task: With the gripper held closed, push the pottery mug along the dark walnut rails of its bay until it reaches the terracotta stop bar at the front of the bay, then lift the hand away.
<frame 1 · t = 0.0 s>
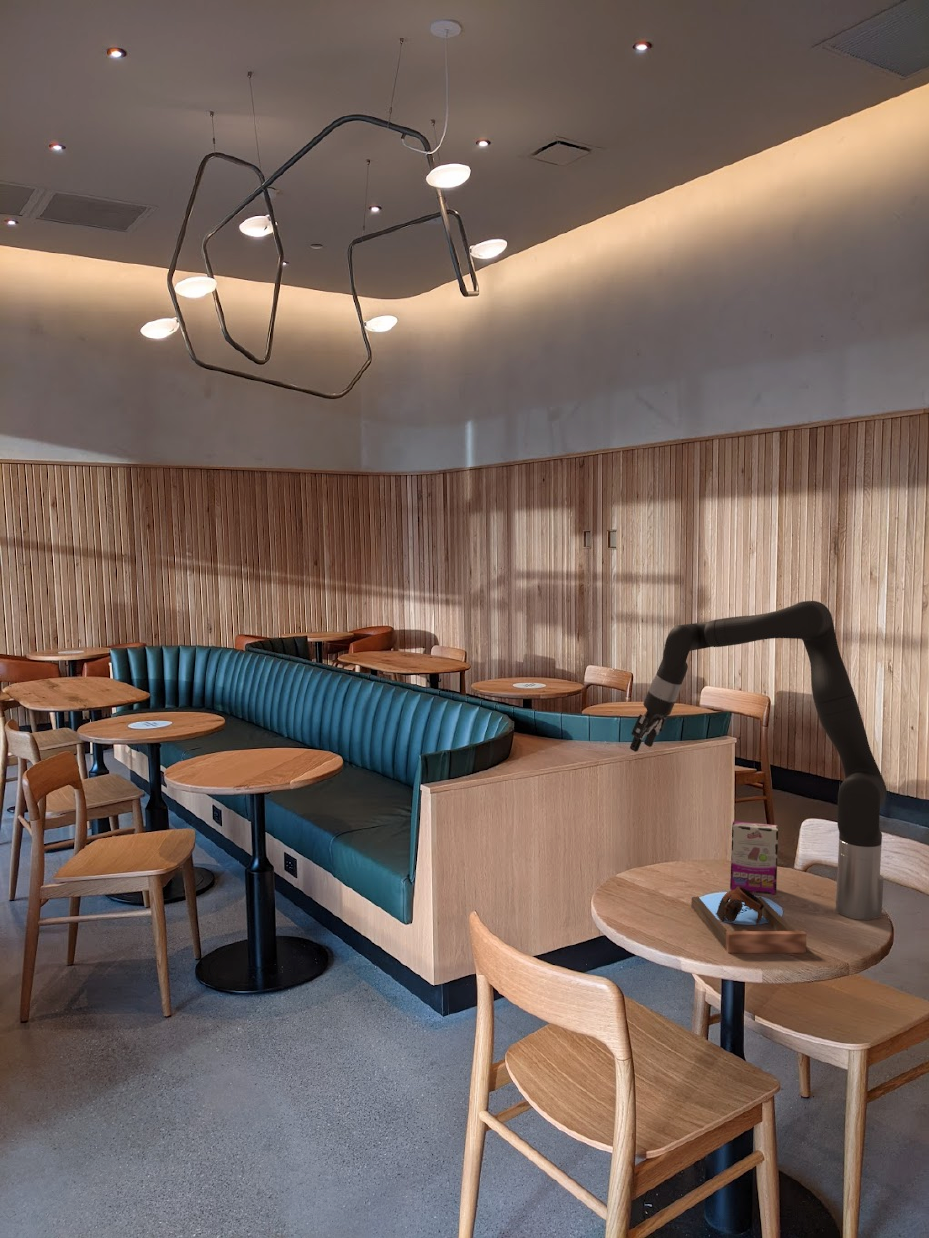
hand: (640, 747, 253), 31 cm above the table, tool tilted 20°, fingers open, 8 cm apart
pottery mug: (737, 921, 216), on the table
bay: (744, 927, 212), on the table
candy bar box: (752, 889, 237), on the table
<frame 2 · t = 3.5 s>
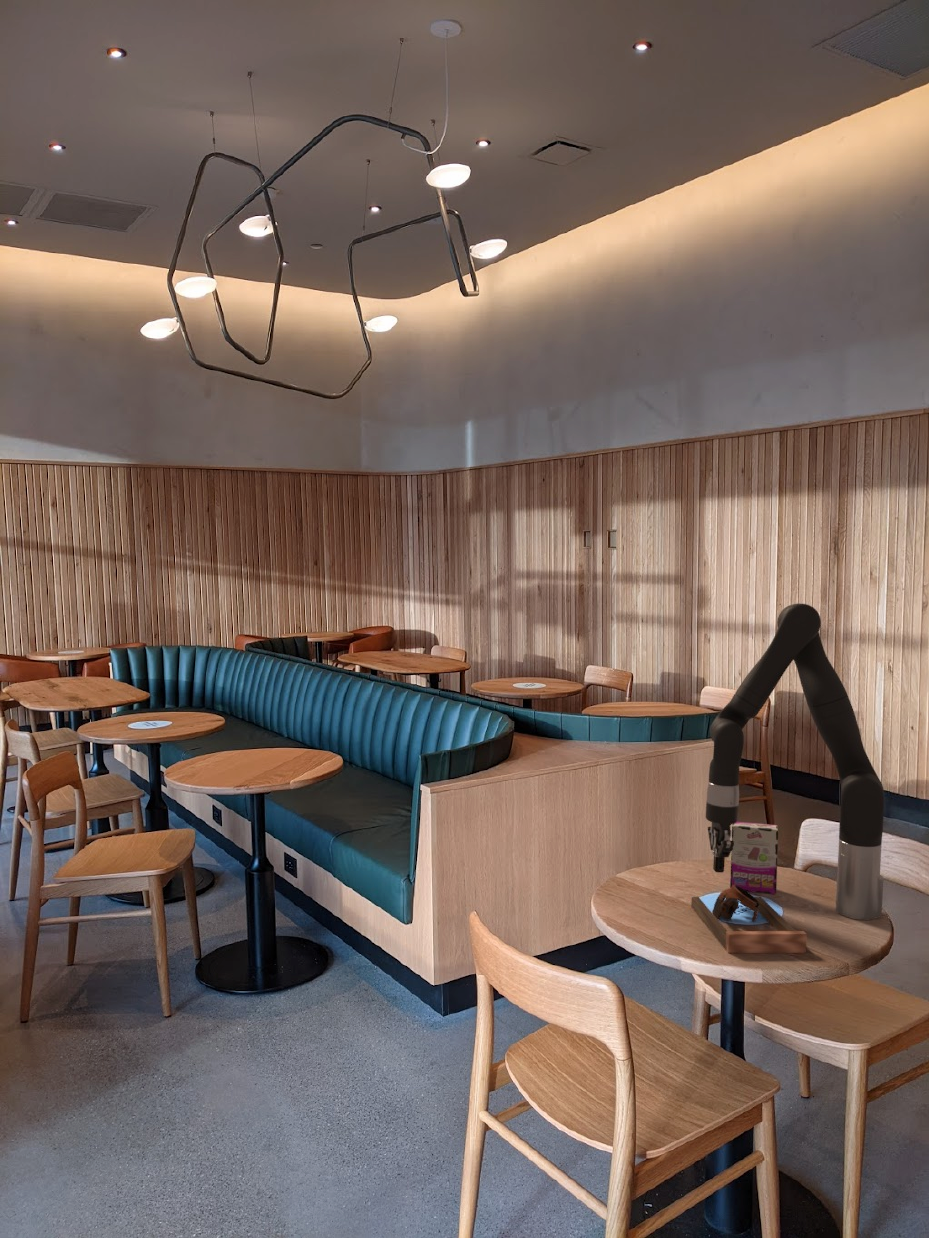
hand: (718, 871, 229), 7 cm above the table, tool pointing down, fingers closed
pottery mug: (732, 919, 217), on the table
everything else where it was.
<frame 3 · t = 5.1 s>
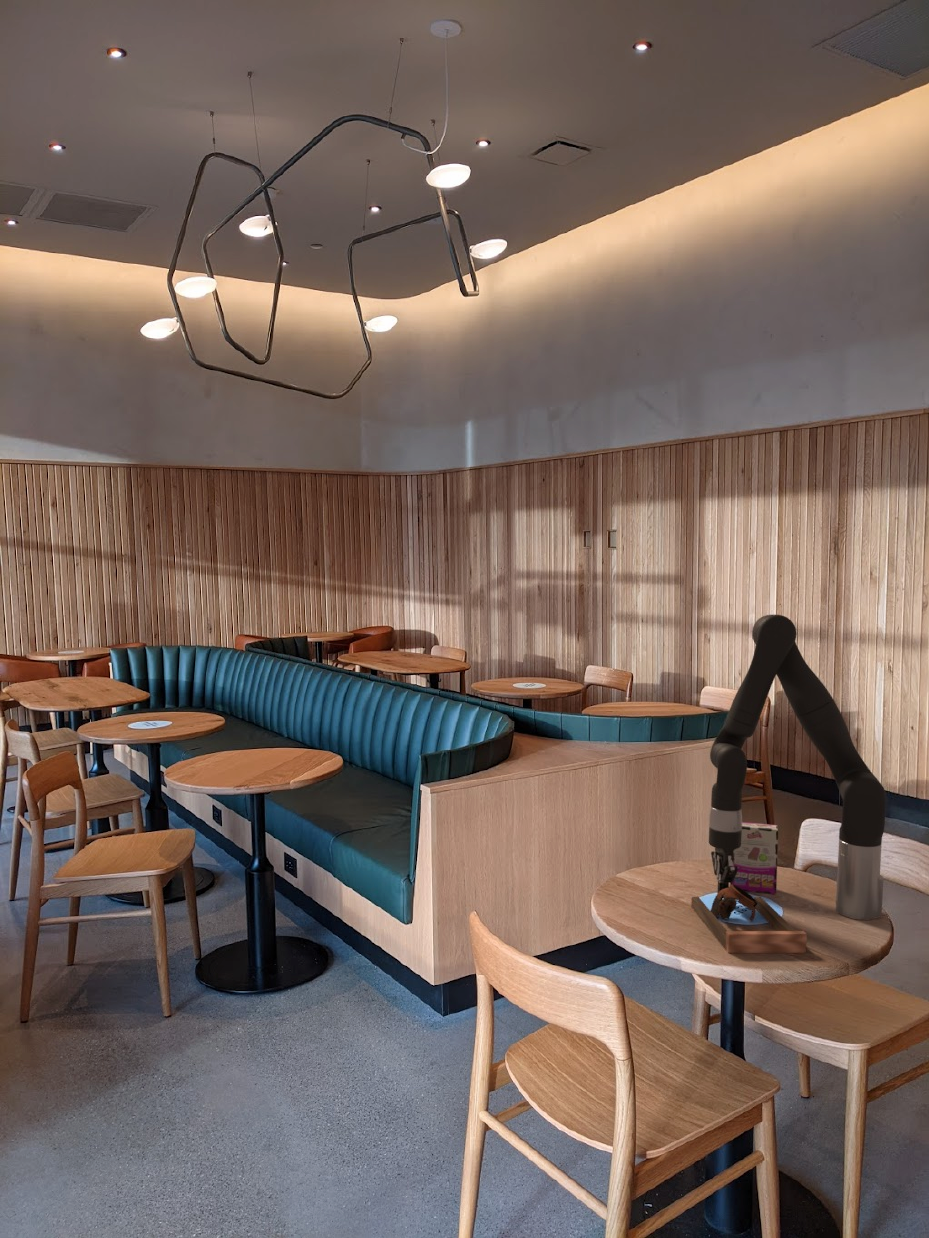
hand: (722, 896, 227), 1 cm above the table, tool pointing down, fingers closed
nothing on the table moved.
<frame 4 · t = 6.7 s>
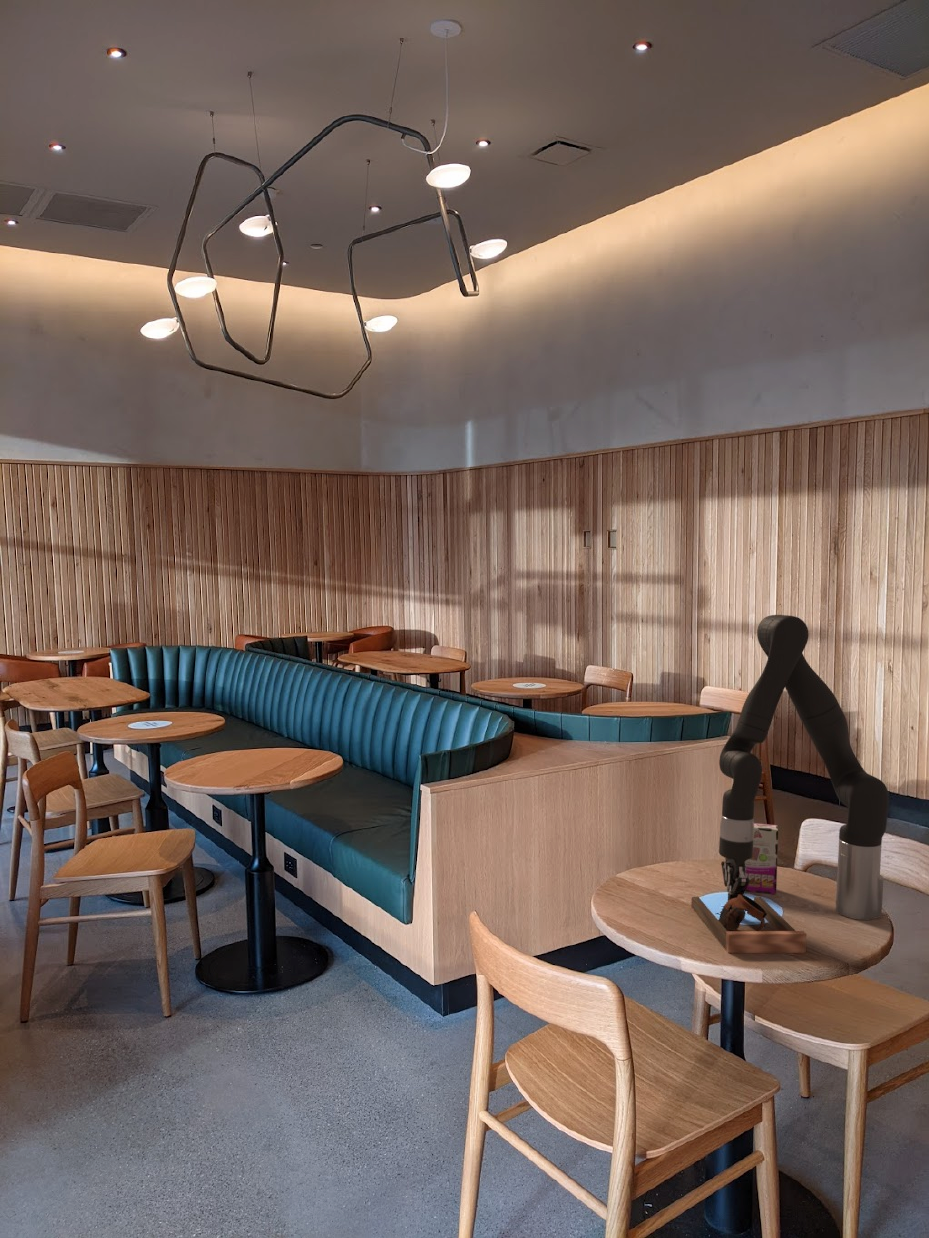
hand: (733, 908, 218), 2 cm above the table, tool pointing down, fingers closed
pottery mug: (739, 929, 211), on the table, touching hand
everything else where it was.
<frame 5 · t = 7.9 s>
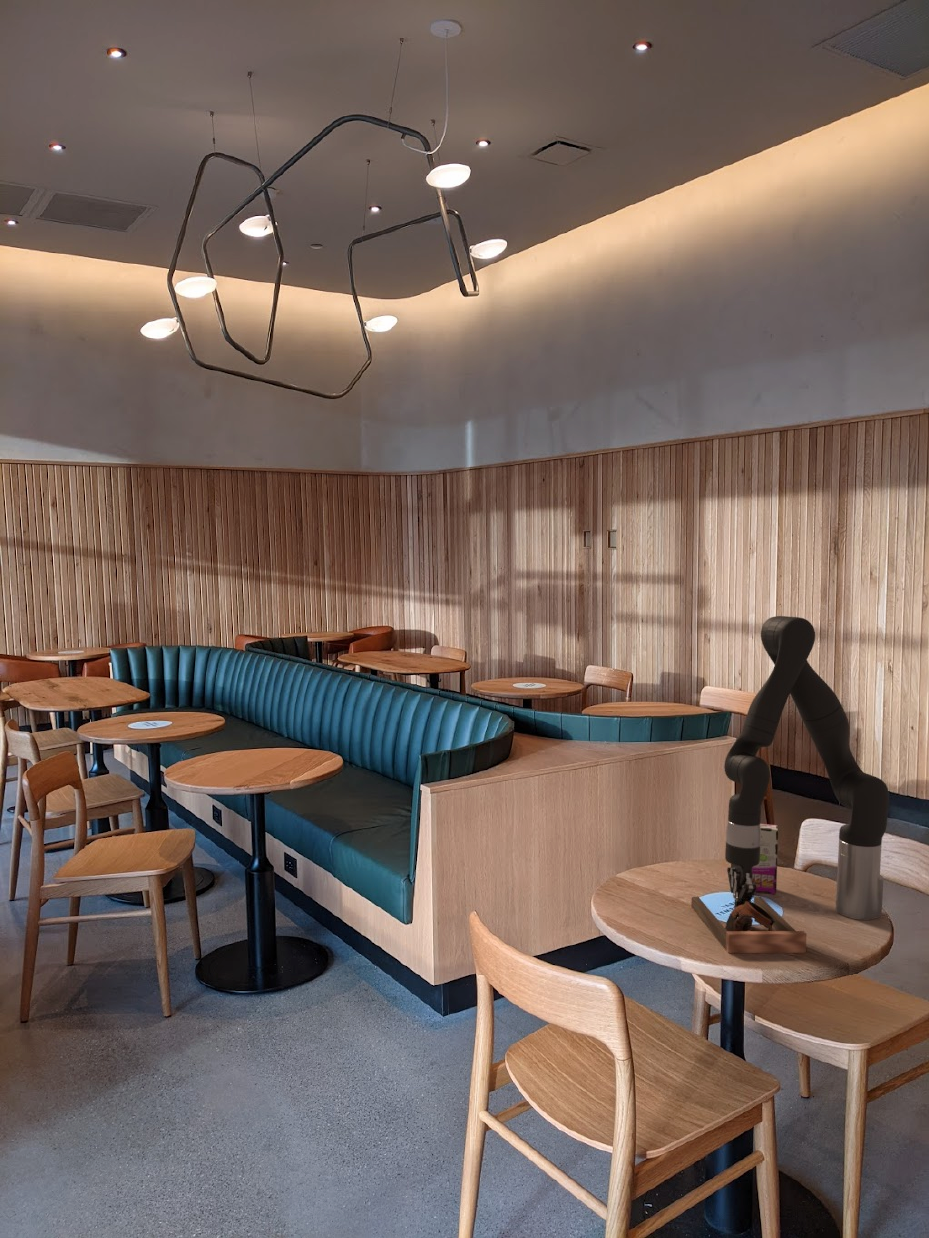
hand: (739, 916, 214), 2 cm above the table, tool pointing down, fingers closed
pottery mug: (746, 937, 207), on the table, touching hand
everything else where it was.
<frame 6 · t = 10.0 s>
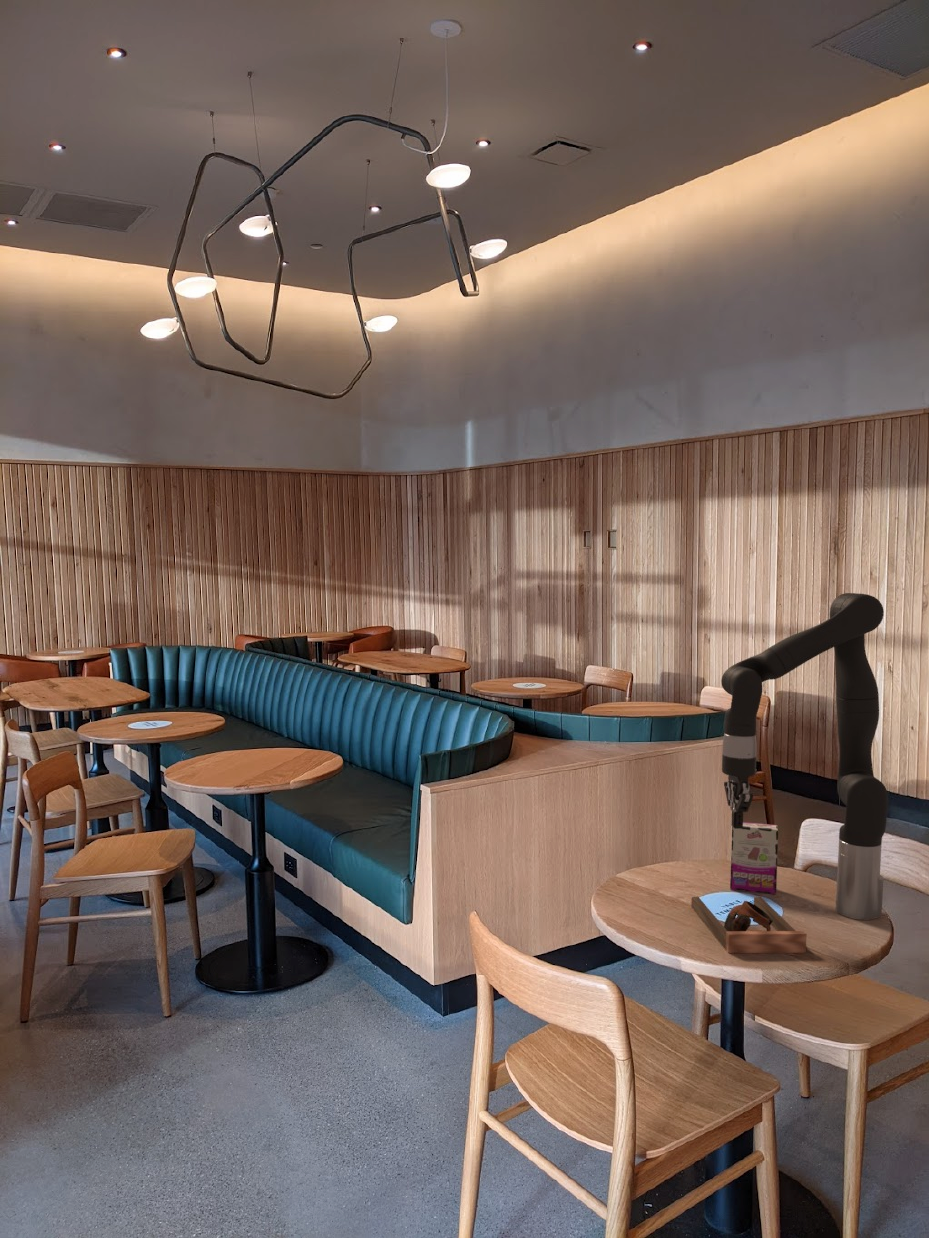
hand: (736, 827, 218), 21 cm above the table, tool pointing down, fingers closed
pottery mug: (744, 937, 207), on the table
everything else where it was.
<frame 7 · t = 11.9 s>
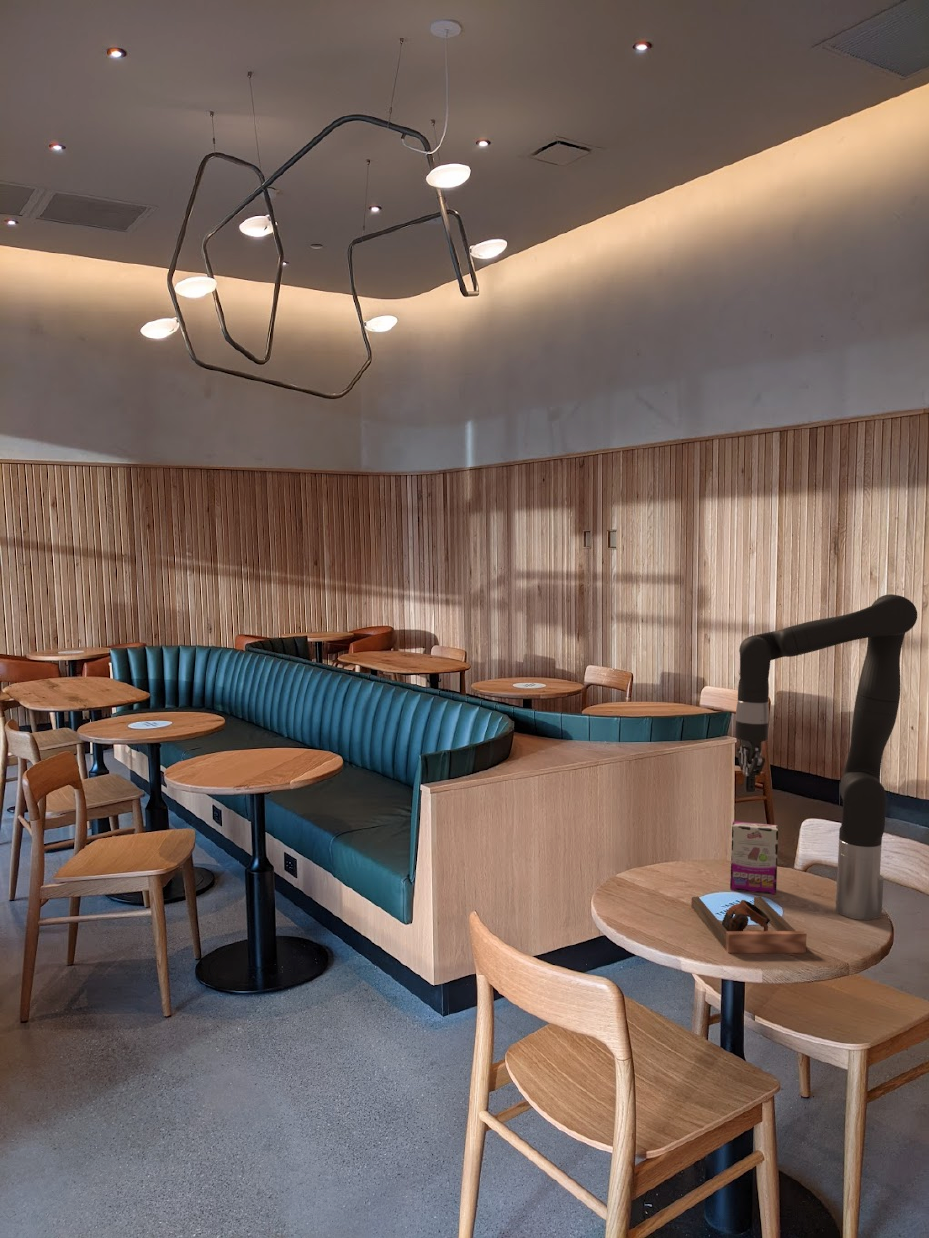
hand: (749, 790, 227), 27 cm above the table, tool pointing down, fingers closed
nothing on the table moved.
at the end: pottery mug inside the target area (2.4 cm from its centre), on the table; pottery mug tilted 1°; candy bar box moved 0.2 cm from its start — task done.
